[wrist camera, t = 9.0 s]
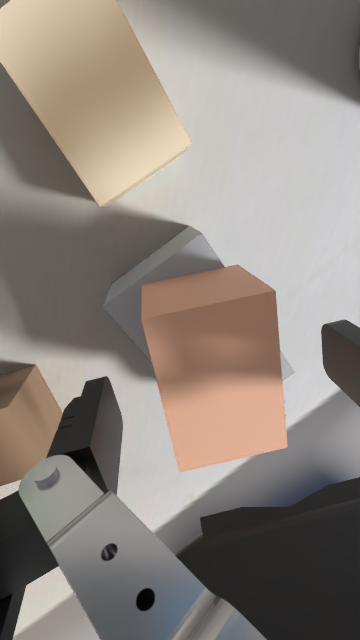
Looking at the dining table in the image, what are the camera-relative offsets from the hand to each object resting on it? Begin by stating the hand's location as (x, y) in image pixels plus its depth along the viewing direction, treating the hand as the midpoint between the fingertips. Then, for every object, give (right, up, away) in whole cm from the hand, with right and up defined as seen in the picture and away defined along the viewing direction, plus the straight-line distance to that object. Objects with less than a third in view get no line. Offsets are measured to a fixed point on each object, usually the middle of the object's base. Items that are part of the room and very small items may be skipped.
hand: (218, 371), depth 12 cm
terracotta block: (-1, +1, +2) cm, 3 cm away
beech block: (-5, +11, +2) cm, 12 cm away
